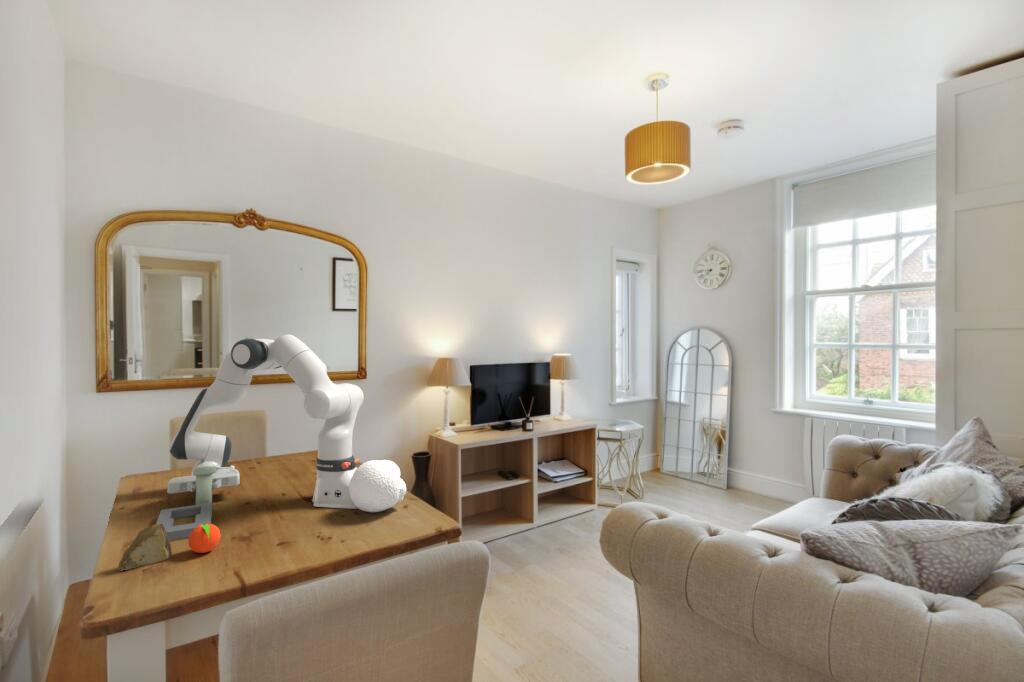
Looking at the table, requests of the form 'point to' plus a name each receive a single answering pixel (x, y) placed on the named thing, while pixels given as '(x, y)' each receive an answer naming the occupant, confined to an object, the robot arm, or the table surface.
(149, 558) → the rock
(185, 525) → the keyhole board
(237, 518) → the table surface
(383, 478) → the white lumpy blob
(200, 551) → the clementine
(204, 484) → the sage post
